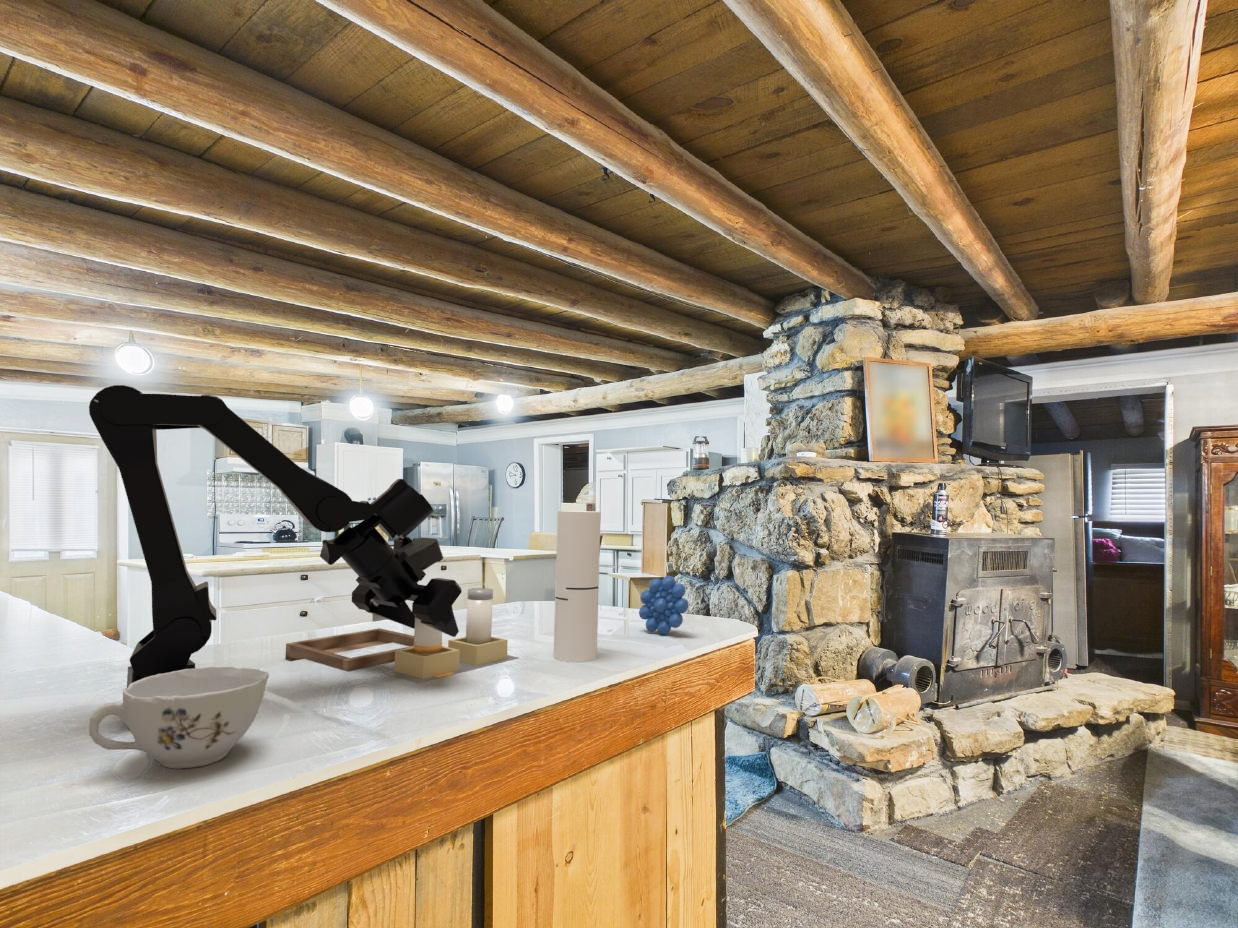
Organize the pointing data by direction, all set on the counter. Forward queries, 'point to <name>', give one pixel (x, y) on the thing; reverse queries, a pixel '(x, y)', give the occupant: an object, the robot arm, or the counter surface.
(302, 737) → the counter surface
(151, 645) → the robot arm
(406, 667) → the block
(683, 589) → the grapes
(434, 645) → the ball
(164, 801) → the counter surface
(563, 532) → the cylindrical container
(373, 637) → the tray
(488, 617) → the cylinder
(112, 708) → the teacup
